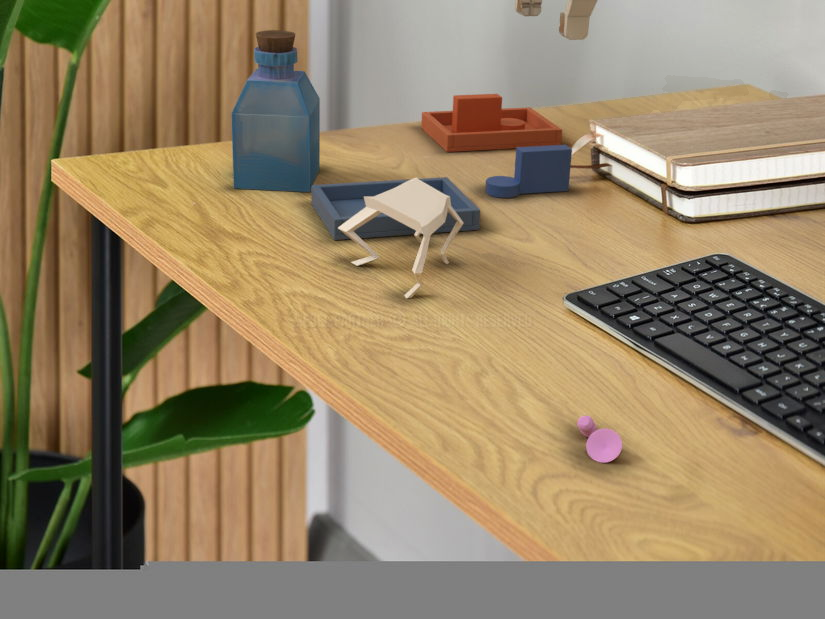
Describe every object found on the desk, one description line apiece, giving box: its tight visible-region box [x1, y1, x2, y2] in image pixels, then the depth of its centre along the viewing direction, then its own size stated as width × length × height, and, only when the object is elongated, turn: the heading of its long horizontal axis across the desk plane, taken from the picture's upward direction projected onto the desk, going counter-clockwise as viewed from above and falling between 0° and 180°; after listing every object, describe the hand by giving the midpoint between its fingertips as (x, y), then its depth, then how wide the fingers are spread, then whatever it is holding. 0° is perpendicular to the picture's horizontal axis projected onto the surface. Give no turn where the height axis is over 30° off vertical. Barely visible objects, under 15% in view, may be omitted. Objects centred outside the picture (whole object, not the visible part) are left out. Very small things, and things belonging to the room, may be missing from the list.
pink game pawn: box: [576, 415, 623, 464], centre depth 62 cm, size 3×2×2 cm
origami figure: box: [338, 176, 464, 299], centre depth 82 cm, size 12×8×5 cm
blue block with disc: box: [484, 144, 573, 199], centre depth 99 cm, size 7×3×4 cm, turn 106°
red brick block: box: [452, 93, 525, 133], centre depth 113 cm, size 7×3×4 cm, turn 106°
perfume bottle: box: [230, 29, 321, 193], centre depth 98 cm, size 6×6×12 cm
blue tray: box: [310, 176, 481, 241], centre depth 92 cm, size 11×8×2 cm
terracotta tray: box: [420, 106, 563, 153], centre depth 114 cm, size 11×8×2 cm
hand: (549, 26), depth 95 cm, fingers open, 8 cm apart
